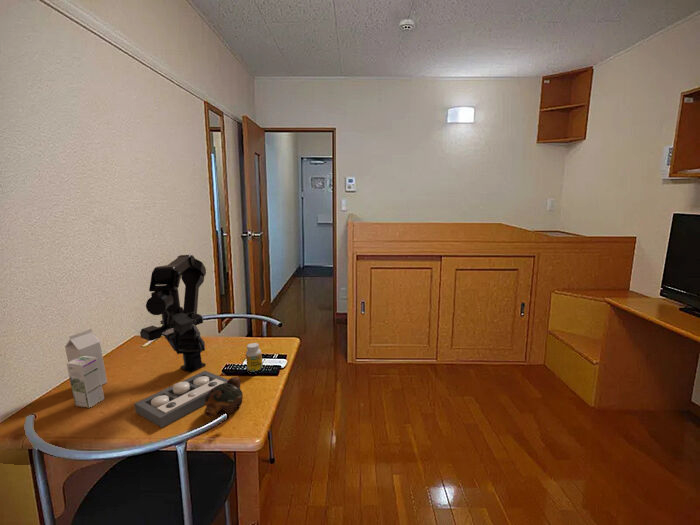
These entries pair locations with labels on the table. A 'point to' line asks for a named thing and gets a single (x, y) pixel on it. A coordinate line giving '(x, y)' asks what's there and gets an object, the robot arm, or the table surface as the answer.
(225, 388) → the decorative turtle
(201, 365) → the robot arm
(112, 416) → the table surface
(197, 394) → the board
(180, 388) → the button
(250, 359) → the supplement bottle
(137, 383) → the table surface
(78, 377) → the syrup box
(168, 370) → the table surface
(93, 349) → the milk carton
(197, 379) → the button
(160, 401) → the button
